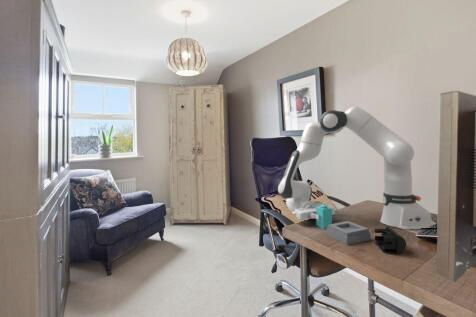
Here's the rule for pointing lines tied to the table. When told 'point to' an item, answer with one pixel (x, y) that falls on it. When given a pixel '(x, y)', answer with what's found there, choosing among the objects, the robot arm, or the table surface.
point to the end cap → (389, 241)
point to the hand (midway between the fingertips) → (325, 216)
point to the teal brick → (324, 216)
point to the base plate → (348, 232)
